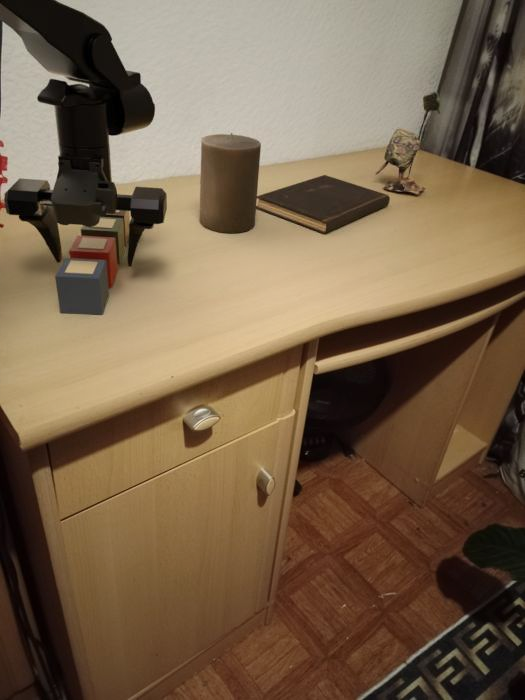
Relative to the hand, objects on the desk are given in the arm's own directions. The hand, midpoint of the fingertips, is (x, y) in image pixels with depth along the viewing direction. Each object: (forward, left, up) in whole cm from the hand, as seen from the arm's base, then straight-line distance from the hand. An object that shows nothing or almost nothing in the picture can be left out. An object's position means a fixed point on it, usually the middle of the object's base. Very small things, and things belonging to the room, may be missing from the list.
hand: (95, 263), depth 72 cm
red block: (0, 0, -2) cm, 2 cm away
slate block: (+3, -6, -2) cm, 7 cm away
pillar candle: (+4, +29, -2) cm, 29 cm away
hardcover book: (+15, +48, -2) cm, 50 cm away
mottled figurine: (+24, +71, -2) cm, 75 cm away
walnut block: (-7, +11, -2) cm, 13 cm away
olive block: (-4, +6, -2) cm, 7 cm away
